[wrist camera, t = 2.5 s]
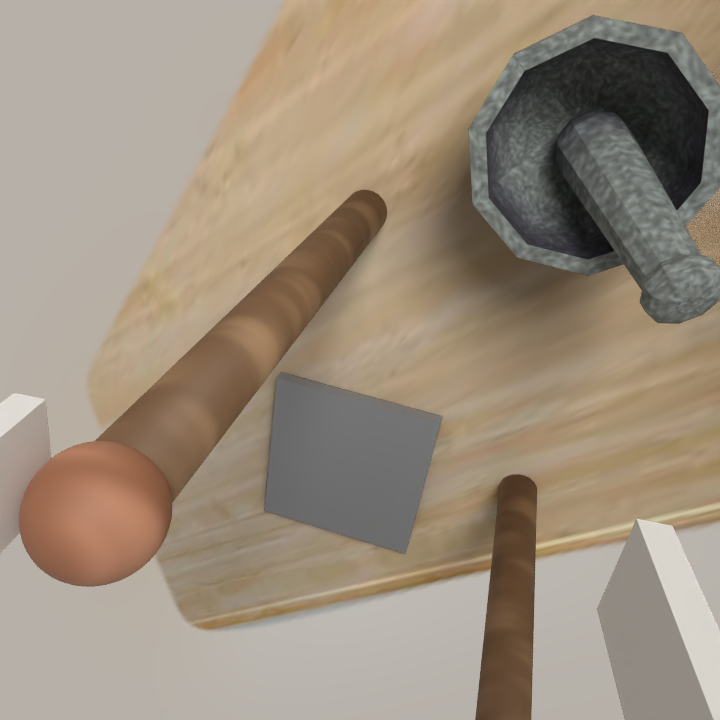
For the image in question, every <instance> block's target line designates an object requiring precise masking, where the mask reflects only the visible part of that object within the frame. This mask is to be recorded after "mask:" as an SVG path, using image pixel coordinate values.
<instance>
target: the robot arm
mask: <svg viewBox="0 0 720 720" xmlns="http://www.w3.org/2000/svg"><path fill="white" fill-rule="evenodd" d="M50 459H51V450H50V440H49V429H48V419H47V409H46V400H45V399H41V398H36V397H30V396H26V395H21V394H16V393H14V394H12V395H11V396H10V397H8V398H7V399H6V400H4V401H3V402H2V403H0V553H1V552H2V551H3V550H4V549H5V548H6V547H7V546H8V545H9V543H10V542H11V541H12V540H13V539H14V538H15V537H16V536H17V535H18V534H19V533H20V528H19V512H20V506H21V502H22V499H23V495H24V493H25V491H26V489H27V487H28V485H29V483H30V481H31V479H32V478H33V477H34V475H35V474H36V473H37V471H38V470H39V469H40V468H41V467H42V466H43V465H44V464H45V463H46V462H48V461H49V460H50ZM597 610H598V614H599V618H600V622H601V626H602V630H603V634H604V638H605V642H606V646H607V650H608V654H609V658H610V662H611V666H612V670H613V674H614V678H615V682H616V686H617V690H618V694H619V698H620V702H621V706H622V710H623V714H624V718H625V720H720V630H719V628H718V625H717V623H716V621H715V619H714V617H713V614H712V612H711V610H710V608H709V605H708V604H707V601H706V599H705V597H704V594H703V592H702V590H701V588H700V586H699V584H698V581H697V579H696V577H695V575H694V572H693V570H692V568H691V566H690V564H689V561H688V559H687V557H686V555H685V553H684V550H683V548H682V546H681V544H680V541H679V539H678V537H677V535H676V533H675V530H674V528H673V526H670V525H665V524H661V523H656V522H651V521H646V520H641V519H636V521H635V523H634V526H633V528H632V530H631V533H630V535H629V537H628V539H627V542H626V544H625V546H624V549H623V551H622V553H621V555H620V558H619V560H618V562H617V565H616V567H615V569H614V572H613V574H612V576H611V578H610V581H609V583H608V585H607V588H606V590H605V592H604V595H603V597H602V599H601V601H600V604H599V606H598V608H597Z"/></svg>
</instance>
